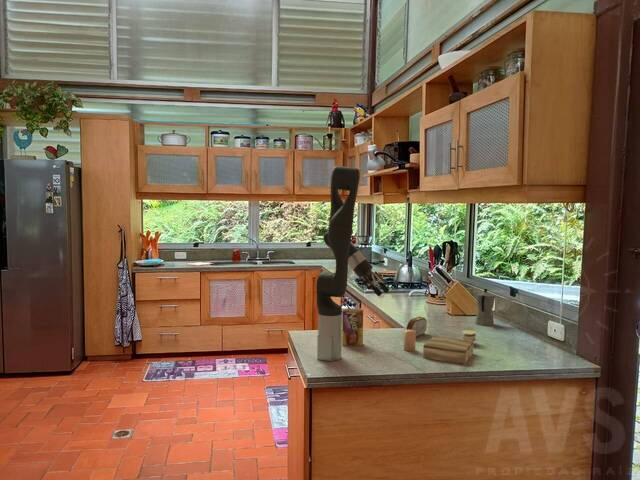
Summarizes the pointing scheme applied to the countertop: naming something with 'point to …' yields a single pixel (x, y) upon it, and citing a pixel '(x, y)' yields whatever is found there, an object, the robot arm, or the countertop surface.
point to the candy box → (352, 326)
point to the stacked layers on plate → (469, 335)
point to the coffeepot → (485, 308)
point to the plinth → (448, 349)
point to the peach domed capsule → (409, 340)
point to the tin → (417, 325)
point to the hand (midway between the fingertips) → (384, 293)
